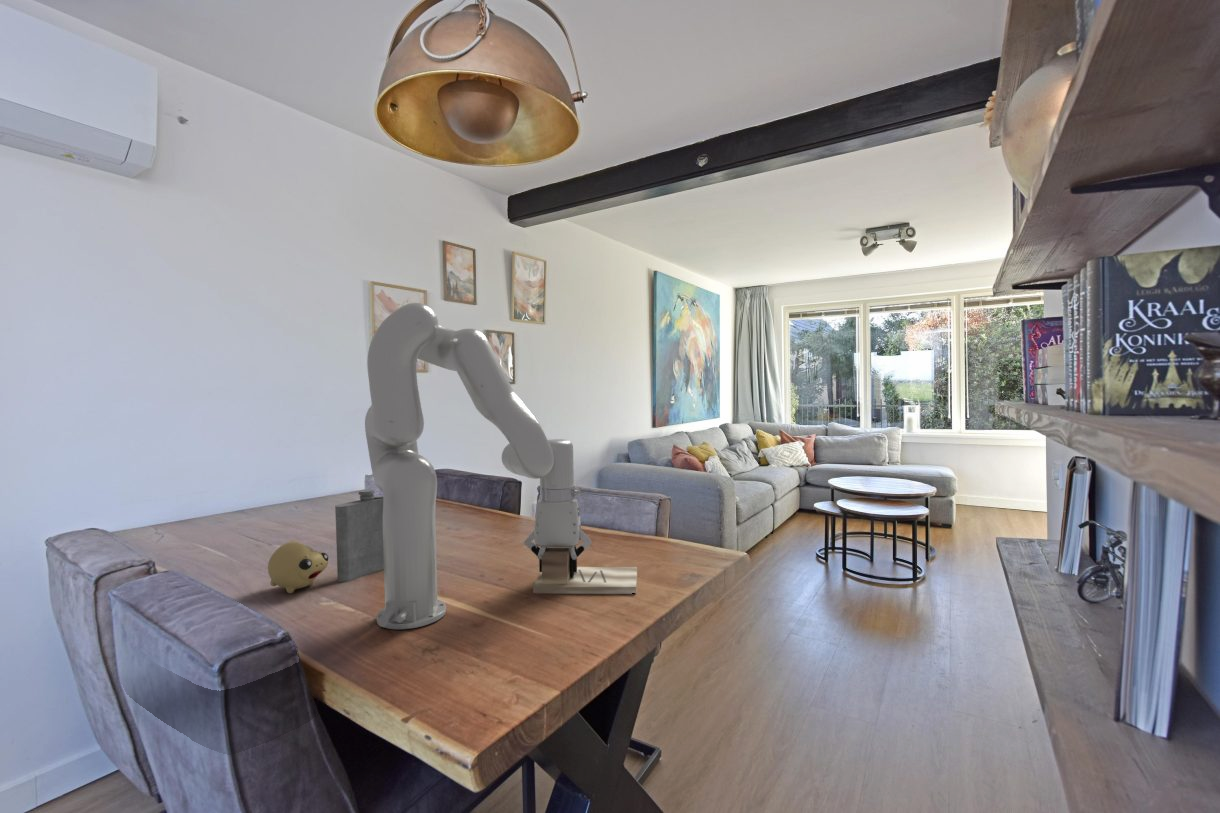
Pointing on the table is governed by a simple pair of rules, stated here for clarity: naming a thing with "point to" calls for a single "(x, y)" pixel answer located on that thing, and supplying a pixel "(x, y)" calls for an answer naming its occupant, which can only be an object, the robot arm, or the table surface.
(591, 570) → the birch board
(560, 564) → the block
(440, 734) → the table surface
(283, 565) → the yellow round soft figure
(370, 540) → the hip flask
